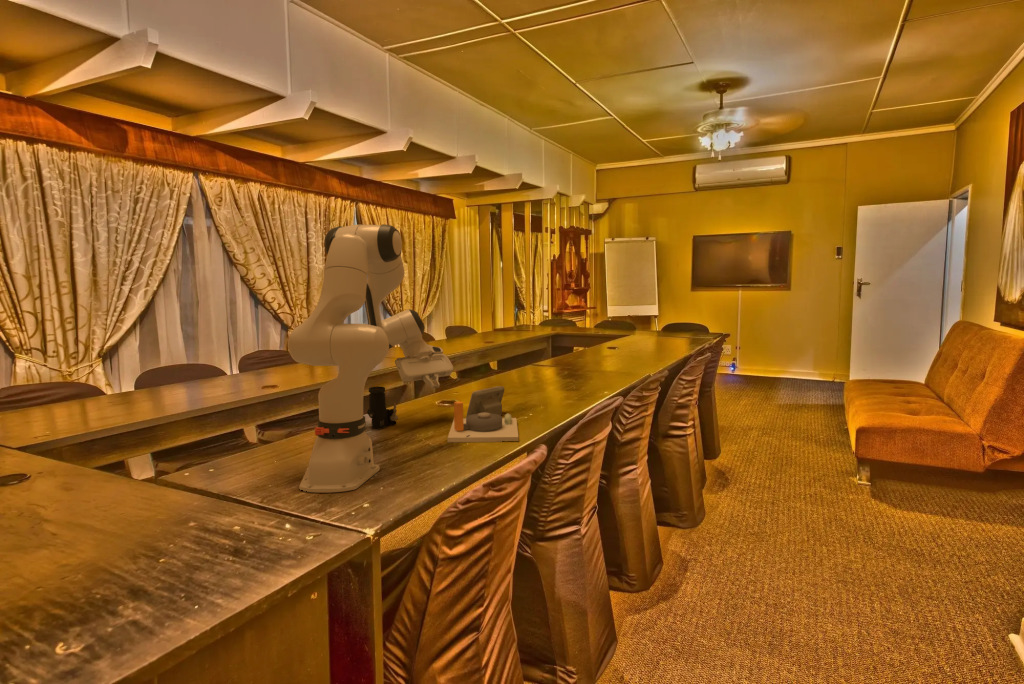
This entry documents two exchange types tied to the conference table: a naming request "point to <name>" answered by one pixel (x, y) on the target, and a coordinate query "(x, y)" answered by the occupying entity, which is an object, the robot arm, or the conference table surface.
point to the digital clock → (486, 401)
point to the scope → (380, 409)
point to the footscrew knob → (475, 420)
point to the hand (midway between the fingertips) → (435, 386)
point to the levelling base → (487, 433)
